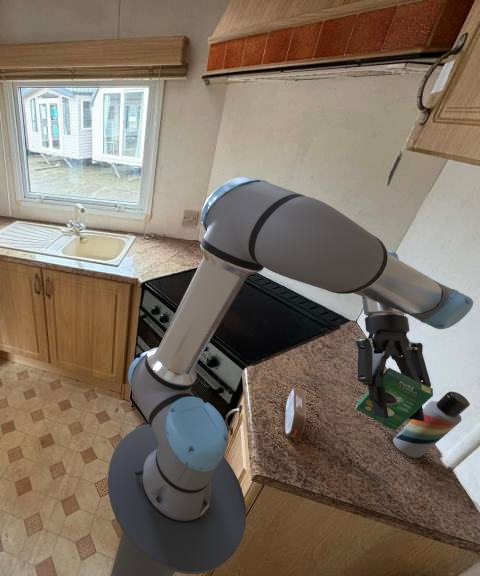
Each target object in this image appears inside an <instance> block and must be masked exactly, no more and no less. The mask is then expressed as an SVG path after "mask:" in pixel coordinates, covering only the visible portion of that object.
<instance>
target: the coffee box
mask: <svg viewBox="0 0 480 576" xmlns="http://www.w3.org/2000/svg"><path fill="white" fill-rule="evenodd" d="M379 387H385V395H386V403H387V411H388V418H382V417H377V416H374V413H373V405H372V400H370V398H369V390H368V389H367V391H366V392H365V393H364V394H363V395H362V397H361V398H360V399H359V400H358V402H357V403H356V406H355V409H356V410H357V411H358V412H360V413H362V414H363V415H365V416H367V417H370V418H372V419H373V420H375V421H376V422H378V423H380V424H382V425H383V426H385V427H387V428H389V429H391V430H392V431H397V430H398V429H400V427H401V426H402V425H403V424H404V423H405V422H406V421H408V420H409V419H408V418H409V417H410V416H412V415H413V414H414V413H415V412H416V411H417V410H418V409H419V408H420V407H421V406H422V407H423V406H424V405H425V404H426V403H427V402H428V401H429V400H430V399H431V398H433V396H434V388H432V387H428V386H426V385H424V384H422V383H420V382H418V381H416V380H414V379H412V378H409V377H407V376H405V375H403V374H401V372H400V371H397V370H395V369H393V368H391V367H388V368H387V369H385V370H384V373H383V377H382V381H381V385H380V386H379Z"/></svg>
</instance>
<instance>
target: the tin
mask: <svg viewBox="0 0 480 576" xmlns="http://www.w3.org/2000/svg"><path fill="white" fill-rule="evenodd" d="M306 421H307V395H306V390H305V389H301V388H298V387H292V388H291V390H290V393H289V395H288V396H287V398H286V402H285V411H284V435H285V436H286V437H287V438H290V439H292V440H294V441H296V442H299V441H300V440H301V438H302V436H303V434H304V431H305V428H306Z"/></svg>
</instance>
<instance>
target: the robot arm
mask: <svg viewBox="0 0 480 576" xmlns="http://www.w3.org/2000/svg"><path fill="white" fill-rule="evenodd" d="M200 220H201V225H202V227H203V230H204V231H205V234H204V236H203V238H202V240H201V242H200V244H199V246H200V250H201V252H202V254H203V256H202V259H201V260H200V263H199V265H198V267H197V269H196V271H195V273H194V275H193V276H192V279H191V280H190V283H189V285H188V286H187V289H186V291H185V293H184V295H183V297H182V298H181V301H180V303H179V305H178V307H177V309H176V311H175V313H174V315H173V317H172V319H171V321H170V323H169V325H168V327H167V329H166V331H165V333H164V335H163V337H162V339H161V342H160V343H159V346H158V347H153V348H151V349H150V350H147V351H145V352H142V353H141V354H140V355H139V357H136V358H135V359H134V360H133V361H132V363H131V364H130V366H129V368H128V372H127V380H128V384H129V386H130V390H131V393H132V395H133V396H134V397H135V399H136V402H137V404H138V405H139V407H140V409H141V411H142V413H143V415H144V417H145V419H146V420H147V421H146V422H148V424H150V426H151V428H152V430H153V432H154V434H155V436H156V438H157V440H158V443H159V446H158V449H156V450H154V451H153V452H152V453H151V454H150V455H149V456H148V458H147V459H146V461H145V463H144V466H143V469H141V470H135V475H141V474H142V486H143V490H144V493H145V495H146V497H147V499H148V501H149V503H150V504H151V505H152V507H153V508H154V509H155V510H156V511H157V512H158V513H159V514H161V515H162V516H164V517H165V518H167V519H169V520H171V521H174V522H178V523H189V522H193V521H195V520H197V519H199V518H200V517H201V516H202V515H203V514H204V513H205V511H206V510H207V509H208V507H209V503H210V500H211V478H212V476H213V475H214V473H215V471H216V469H217V467H218V465H219V464H220V463H221V462H222V460H223V458H225V454H226V451H227V447H228V443H229V432H228V428H227V424H226V421H225V420H224V418H223V415H221V413H220V412H219V410H217V408H215V407H214V405H212V404H211V403H209V402H204V400H203V399H202V398H200V397H197V396H195V395H194V394H193V392H192V390H191V388H192V387H193V385H194V384H195V382H196V380H197V376H198V375H197V371H196V368H195V367H196V366H197V364H198V362H199V360H200V358H201V357H202V355H203V353H204V352H205V351H206V348H207V347H208V345H209V343H210V342H211V340H212V339H213V337H214V336H215V333H216V332H217V329H218V328H219V326H220V325H221V323H222V322H223V319H224V318H225V316H226V314H227V312H228V311H229V309H230V308H231V306H232V304H233V302H234V301H235V299H236V298H237V296H238V294H239V292H240V291H241V290H242V287H243V285H244V284H245V282H246V280H247V278H248V277H249V276H251V275H255V274H258V273H262V271H263V270H264V268H265V270H268V271H270V272H272V273H275V274H277V275H279V276H282V277H285V278H287V279H289V280H293V281H297V282H299V283H302V284H306V285H308V286H312V287H315V288H319V289H322V290H325V291H327V292H331V293H334V294H340V295H349V294H354V295H358V296H359V297H361V299H362V306H363V307H362V308H363V314H364V315H365V316H366V317H365V318H364V325H365V331H366V332H367V333H368V337H367V338H356V340H355V344H356V347H357V350H358V351H357V381H358V382H359V383H362V384H363V385H364V386H367V391H368V390H369V398H370V400H372V405H373V413H374V416H377V417H382V418H388V411H387V403H386V395H385V387H379V386H380V385H381V381H382V377H383V374H384V372H385V370H386V369H385V368H386V365H387V361H388V360H389V359H390V358H391V359H392V360H393V361H394V362H395V364H396V366H397V368H398V370H399V373H401V374H403V375H405V376H407V377H409V378H412V379H414V380H416V381H418V382H420V383H422V384H424V385H426V386H428V387H430V388H432V383H431V379H430V374H429V372H428V368H427V366H426V361H425V357H424V355H423V351H424V350H423V348H424V346H423V343H422V342H413V341H411V340H410V339H409V337H408V336H407V334H408V333H409V332H410V331H411V330H410V329H411V328H410V322H409V317H407V316H406V315H409V316H410V317H413V318H414V319H416V320H418V321H420V322H421V323H422V324H426V325H427V326H430V327H432V328H435V329H436V330H446V329H449V328H451V327H453V326H455V325H457V324H458V323H459V322H460V321H462V320H463V319H464V318H465V317H466V316H467V315H468V313H469V312H471V310H472V308H473V305H474V300H473V298H471V297H470V296H468V295H466V294H464V293H463V292H460V291H459V290H457V289H455V288H454V289H453V288H451V287H449V286H447V285H445V284H443V283H440V282H438V281H437V280H435V279H432V277H429V276H428V275H426V274H424V273H423V272H421V271H419V270H417V269H416V268H414V267H413V266H410V265H409V264H407V263H405V262H404V261H402V260H400V258H399V255H398V253H396V252H394V251H392V250H388V249H387V248H386V245H385V243H384V242H383V241H382V240H381V239H380V238H378V237H377V236H376V235H374V234H372V233H371V232H369V231H368V230H366V229H365V228H364V227H363V226H361V225H359V224H358V223H357V222H355V221H354V220H353V219H351V218H349V217H348V216H346V215H345V214H343V213H342V212H341V211H339V210H337V209H336V208H335V207H333V206H331V205H329V204H327V203H325V202H324V201H322V200H319V199H316V198H314V197H311V196H308V195H304V194H301V193H299V192H296V191H293V190H290V189H287V188H284V187H282V186H279V185H276V184H273V183H270V182H268V181H266V180H264V179H257V178H252V177H247V176H240V177H236V178H235V177H234V178H232V179H229V180H228V181H226V182H225V183H222V184H220V185H219V186H218V187H217V188H216V189H215V190H214V191H212V193H211V194H210V195H209V196H208V197H207V199H206V201H205V202H204V205H203V207H202V210H201V214H200ZM423 408H424V407H423V405H422V406H421V407H420V408H419V409H418V410H417V411H416V412H415V413H414V414H413V415H412V416H410V417H409V418H408V419H407V420H412V419H413V420H419V421H424V414H423Z"/></svg>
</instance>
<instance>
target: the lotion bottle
mask: <svg viewBox="0 0 480 576" xmlns="http://www.w3.org/2000/svg"><path fill="white" fill-rule="evenodd" d="M470 406H471V403H470V402H469V400H468V399H467V398H466V397H465V396H464V395H462V394H460V393H459V392H456V391H448V392H446V393H445V394H444V395H443V396H442V397H441V398H440V399H439V400H438V401H437V400H431V401H429V402H428V403H427V404H426V405H425V406H424V407H422V408H423V414H424V421H419V420H413V419H410V421H409V422H407V423H406V425H405V426H404V427H403V428H401V430H400V431H399V432H397V434H396V435H395V436H394V437H393V439H392V442H393V444H394V446H395V447H396V449H398V450H399V452H401V453H403V454H404V455H406V456H408V457H410V458H414V459H417V458H420V457H422V456H423V455H424V454H426V452H428V451H429V450H430V449H431V448H433V447H434V446H435V445H437V443H438V442H440V441H441V440H442V439H443V438H444V437H445V436H446V435H447V434H448V433H450V432H451V431H452V430H453V429H455V427H456V426H458V425H459V424H460V423H461V422H462V421H463V419H462V416H461V414H462V413H463V412H464V411H465V410H466V409H468V408H469V407H470Z"/></svg>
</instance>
